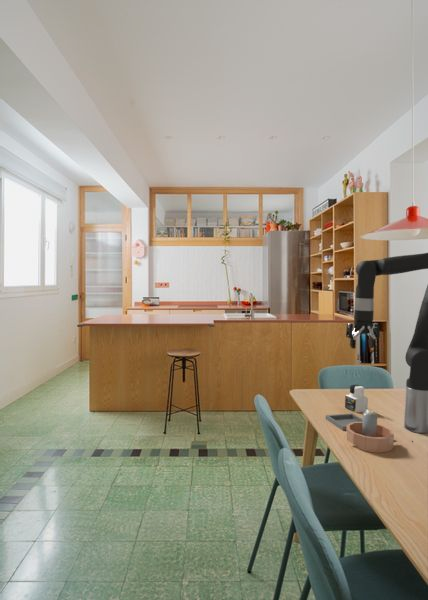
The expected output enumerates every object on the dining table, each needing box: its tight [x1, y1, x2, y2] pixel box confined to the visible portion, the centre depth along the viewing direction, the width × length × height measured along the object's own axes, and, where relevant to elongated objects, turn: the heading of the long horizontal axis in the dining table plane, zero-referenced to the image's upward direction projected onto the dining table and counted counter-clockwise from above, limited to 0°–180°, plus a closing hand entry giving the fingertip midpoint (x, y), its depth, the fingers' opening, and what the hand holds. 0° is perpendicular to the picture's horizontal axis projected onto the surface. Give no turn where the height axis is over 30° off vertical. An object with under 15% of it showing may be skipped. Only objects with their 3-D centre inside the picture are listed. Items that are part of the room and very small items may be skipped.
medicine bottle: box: [344, 384, 369, 414], centre depth 183 cm, size 7×7×12 cm
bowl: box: [345, 422, 395, 454], centre depth 149 cm, size 16×16×5 cm
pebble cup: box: [362, 409, 378, 437], centre depth 149 cm, size 5×5×11 cm
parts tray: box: [325, 412, 363, 431], centre depth 166 cm, size 13×13×2 cm
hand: (362, 348), depth 166 cm, fingers open, 8 cm apart
